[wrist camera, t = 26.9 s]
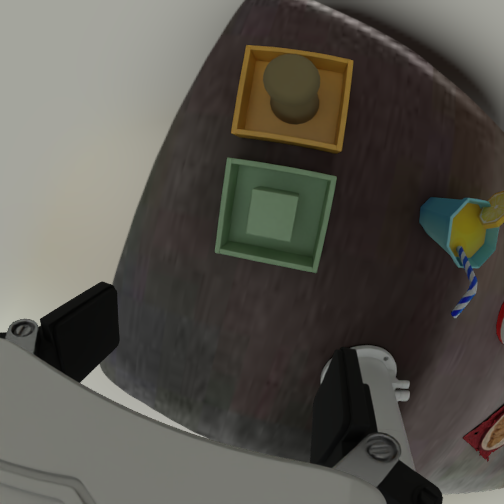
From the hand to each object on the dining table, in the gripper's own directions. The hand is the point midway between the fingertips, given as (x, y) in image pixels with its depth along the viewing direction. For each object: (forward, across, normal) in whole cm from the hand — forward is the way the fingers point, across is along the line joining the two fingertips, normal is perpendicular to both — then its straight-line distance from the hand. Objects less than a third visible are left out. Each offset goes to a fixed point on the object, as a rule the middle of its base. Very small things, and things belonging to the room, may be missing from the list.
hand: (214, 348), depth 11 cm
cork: (+26, +1, -16) cm, 31 cm away
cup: (+27, -20, -5) cm, 34 cm away
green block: (+26, +1, -2) cm, 27 cm away
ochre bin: (+27, +1, -16) cm, 31 cm away
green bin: (+27, +1, -2) cm, 27 cm away
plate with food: (+29, -72, +33) cm, 85 cm away
